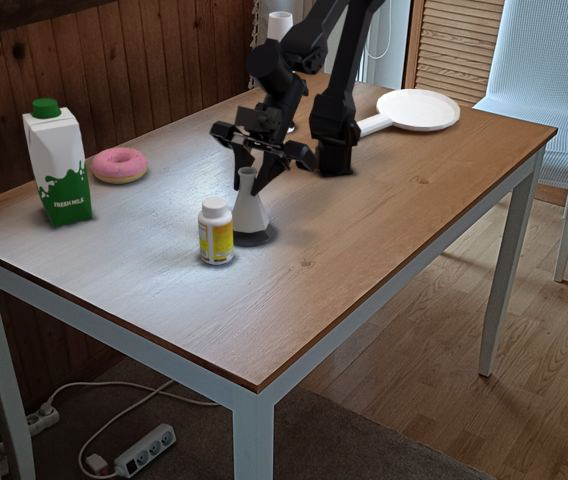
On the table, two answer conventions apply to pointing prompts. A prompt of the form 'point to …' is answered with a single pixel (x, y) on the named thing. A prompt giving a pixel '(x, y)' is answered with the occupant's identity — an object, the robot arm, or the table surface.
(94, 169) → the doughnut
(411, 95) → the frying pan
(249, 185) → the flask
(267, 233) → the slate coaster
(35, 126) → the milk carton
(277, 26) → the champagne flute
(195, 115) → the table surface
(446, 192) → the table surface
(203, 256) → the supplement bottle
